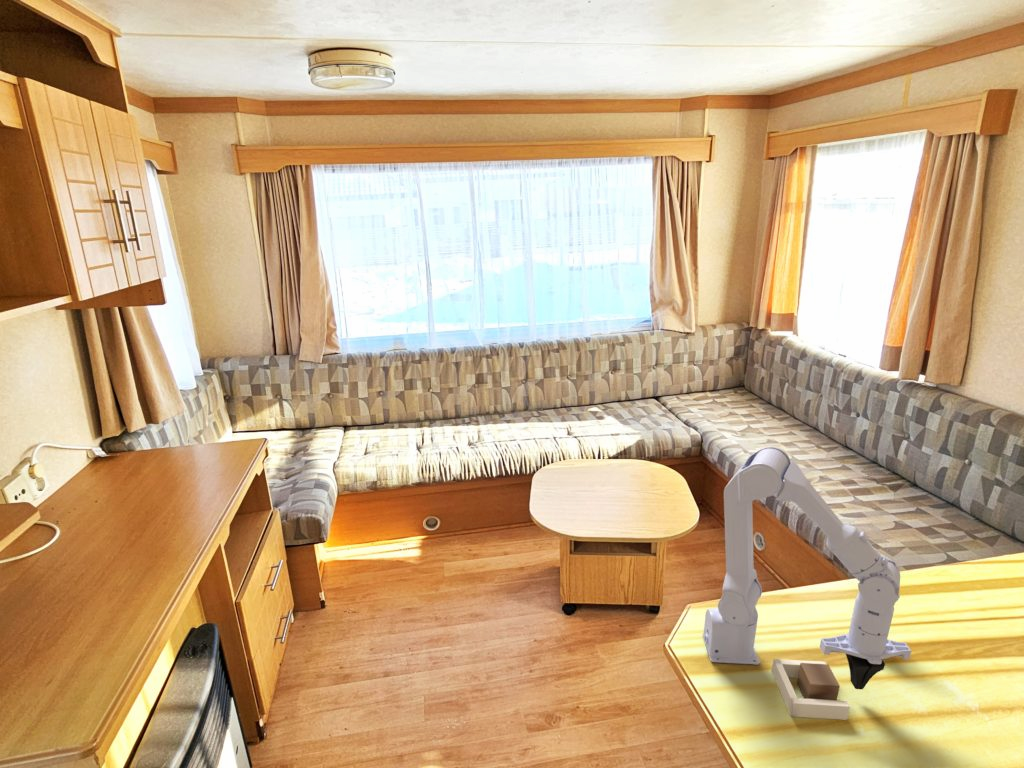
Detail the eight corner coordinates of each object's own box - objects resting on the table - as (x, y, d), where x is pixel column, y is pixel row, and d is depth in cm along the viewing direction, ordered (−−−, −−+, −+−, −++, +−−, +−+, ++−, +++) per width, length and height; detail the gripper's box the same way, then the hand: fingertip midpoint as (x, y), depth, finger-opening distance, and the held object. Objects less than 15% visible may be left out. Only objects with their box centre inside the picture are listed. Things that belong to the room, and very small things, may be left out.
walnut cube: (806, 705, 107) (810, 683, 105) (796, 683, 112) (800, 662, 110) (835, 707, 106) (839, 685, 105) (824, 685, 111) (828, 664, 110)
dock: (790, 716, 105) (793, 703, 104) (771, 671, 114) (773, 658, 114) (847, 719, 104) (849, 706, 103) (822, 674, 114) (825, 661, 113)
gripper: (837, 638, 100) (824, 700, 104) (926, 643, 99) (910, 705, 103) (820, 610, 107) (809, 669, 111) (904, 614, 106) (889, 674, 110)
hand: (856, 684), depth 108 cm, fingers closed
